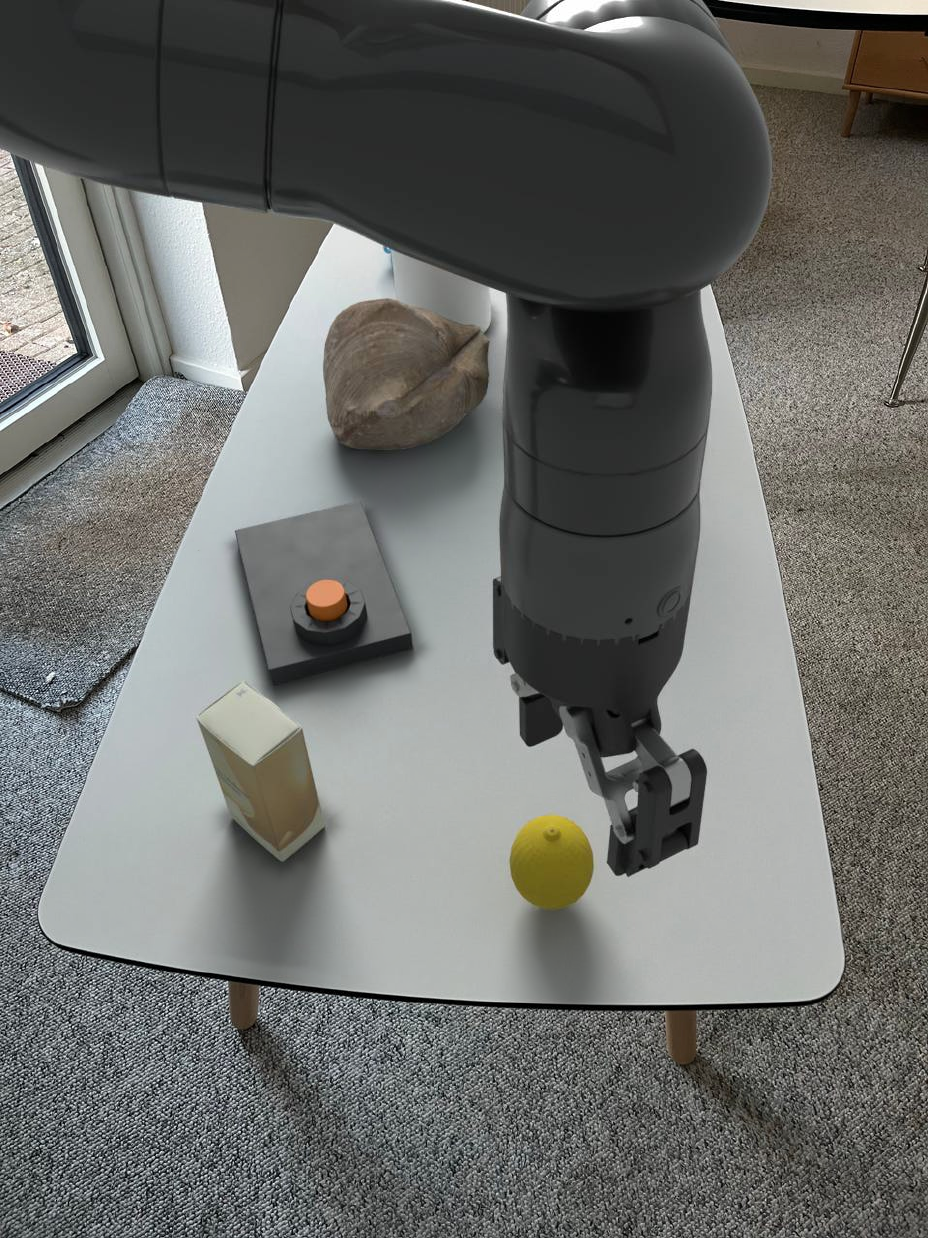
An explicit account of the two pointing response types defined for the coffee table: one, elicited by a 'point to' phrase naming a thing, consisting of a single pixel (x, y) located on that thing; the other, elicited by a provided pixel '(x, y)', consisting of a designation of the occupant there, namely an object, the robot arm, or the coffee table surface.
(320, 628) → the dark grey base plate
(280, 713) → the cosmetic box
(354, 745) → the coffee table surface
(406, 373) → the seashell
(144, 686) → the coffee table surface
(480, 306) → the tall pillar cylinder
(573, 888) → the lemon
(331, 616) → the button
